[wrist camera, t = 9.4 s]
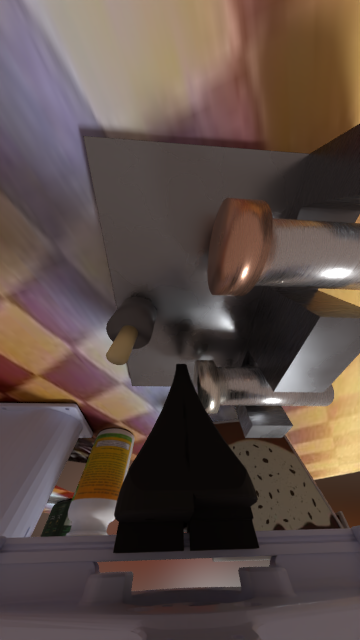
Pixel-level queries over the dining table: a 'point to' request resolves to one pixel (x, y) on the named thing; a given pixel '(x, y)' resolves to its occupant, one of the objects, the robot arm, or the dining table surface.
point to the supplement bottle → (101, 483)
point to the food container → (279, 486)
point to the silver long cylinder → (246, 389)
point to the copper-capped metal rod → (279, 251)
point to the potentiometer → (130, 328)
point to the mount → (192, 261)
